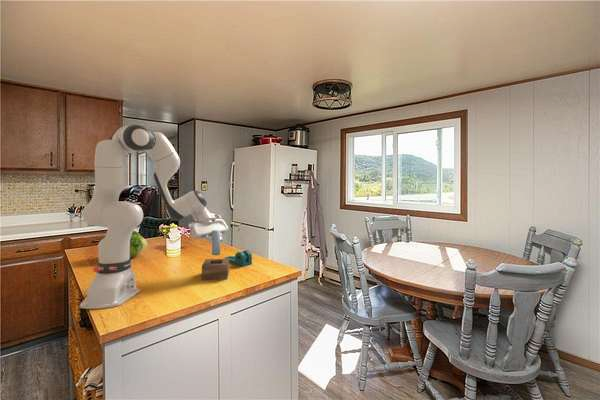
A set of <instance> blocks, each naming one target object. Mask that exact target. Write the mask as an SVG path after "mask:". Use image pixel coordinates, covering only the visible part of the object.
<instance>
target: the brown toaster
mask: <svg viewBox="0 0 600 400" xmlns="http://www.w3.org/2000/svg"><path fill="white" fill-rule="evenodd" d="M229 273H230V263H229V259H225V258H205V260H204V262H203V263H202V265H201V280H202V281H210V280H211V281H215V280H228V278H229Z"/></svg>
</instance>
